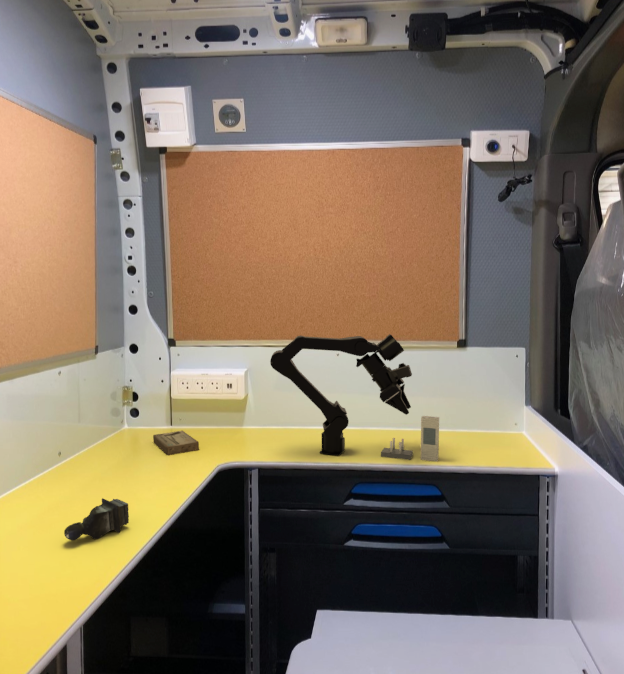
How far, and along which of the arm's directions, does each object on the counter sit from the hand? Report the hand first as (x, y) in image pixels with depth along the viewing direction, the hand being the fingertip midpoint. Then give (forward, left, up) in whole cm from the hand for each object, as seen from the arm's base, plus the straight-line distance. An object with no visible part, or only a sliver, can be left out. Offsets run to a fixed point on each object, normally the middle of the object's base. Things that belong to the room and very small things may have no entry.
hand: (408, 410), depth 167 cm
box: (-74, -17, -15) cm, 77 cm away
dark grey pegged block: (-3, -3, -14) cm, 14 cm away
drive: (+7, -3, -14) cm, 16 cm away
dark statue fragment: (-52, -77, -14) cm, 94 cm away
